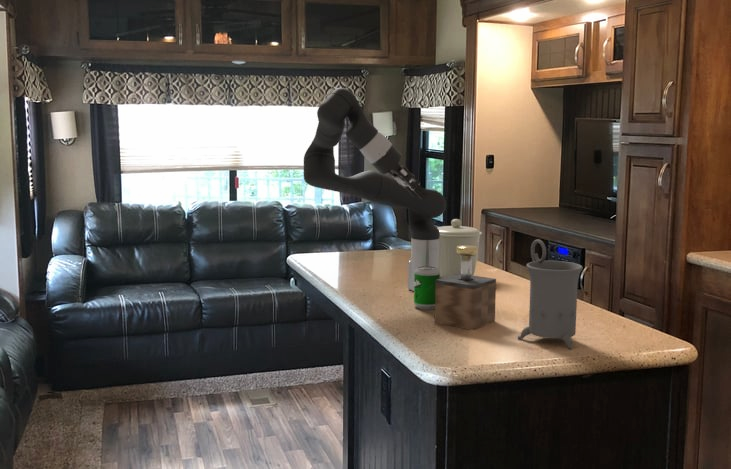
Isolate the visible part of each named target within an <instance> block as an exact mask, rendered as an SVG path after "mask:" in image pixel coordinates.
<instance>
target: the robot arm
mask: <svg viewBox="0 0 731 469" xmlns="http://www.w3.org/2000/svg"><path fill="white" fill-rule="evenodd" d="M316 114H317V115H316V116H317V119H318V120H317V121H318V124H317V127H316V132H315V134H314V138H313V140H312V141H311V143H310V145H309V146H308V148H307V149H306V151H305V153H304V156H303V180H304V182H305V183H306V184H307V185H309V186H311V187H314V188H318V189H322V190H328V191H332V192H337V193H343V194H346V195H350V196H354V197H357V198H359V199H363V200H366V201H368V202H372V203H376V204H379V205H385V206H390V207H396V208H404V209H407V210H408V228H409V231H410V234H411V235H410V236H411V238H410V242H411V244H410V247H411V249H410V251H411V252H410V260H408V266H407V268H408V269H407V272H408V273H407V275H408V276H407V290H411V291H412V292H414V271H415V270H416V269H417V267H420V266H433V267H437V269H438V270H439V242H440V232H439V230H438V228H437V226H436V225H435V224H434V223H433V219H435V218H439V217H440V216H441V215H442V214H444V213H445V211H446V208H447V201H446V198H445V197H444V195H443V194H442V193H441V192H440V191H438V190H436V189H431V188H428V189H427V188H423V186H422V185H421V181H420V180H419V179H418V178H416V177H415V175H414V174H413V173H411V171H410V170H409V169H408V167H406V166H405V165H401V164H400V161H401V160H402V158H403V154H402V153H401V152H400V151H399V150H398V149H397V148H396V147H395V145H394V144H393V143H392V142H391V141H390V140H389V139H388V138H387V137H386V136H385V135H384V134H382V133H381V132H380V131H379V130H378V129H377V128H376V127H375V126H374V125H373V124H372V123H371V121H370V120H369V119H368V118H367V116H366V114H365V112H364V110H363V109H362V107H361V105H360V103H359V101H358V99H357V97H356V96H355V94H353V92H352V91H350V90H349V89H347V88H344V87H337V88H335V89H334V90H333V91H332V92H330V94H329V95H328V96H327V97H326V98H325V99H324V100H323V101H322V103H321V104H320V105H319V107H318V108H317V111H316ZM347 117H348V122H349V124H348V128H347V129H346V132H345V135H346V137H347V139H348V140H349V142H351V143H352V144H353V146H355V147H356V148H357V150H359V152H361V155H363V157H364V158H365V160H367V161H368V162H369V163H370V164H371V165H372V166H373V167H374V168H375V170H364V171H363V172H359V173H357V174H354V175H352V176H342V175H339V174H337V173H336V160H335V153H334V152H335V151H334V148H335V147H336V146H337V145H338V144H339V143H340V141H341V140H342V137H343V133H344V130H345V128H346V127H345V126H346V121H345V119H346V118H347ZM388 173H389V174H390V175H387V174H388Z"/></svg>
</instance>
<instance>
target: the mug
mask: <svg viewBox="0 0 731 469" xmlns="http://www.w3.org/2000/svg"><path fill="white" fill-rule="evenodd" d="M537 244H540V245H539V246H540V247H541V250H542V255H541V258H540V257H539V254H538V253H537V252H536V250H535V249H536V246H537ZM535 252H536V253H535ZM530 256H531V259H532V261H531V262H528V263H526V268H527V270H528V272H529V273H528V274H529V281H530V282H529V283H530V284H529V286H530V287H529V288H530V289H529V317H528V318H529V319H528V326H526V327H524V328H523V329H522V330H521V333H520V336H519V335H518V336H517V339H518V340H523V339H524V338H525V337H527V336H528V335H533V336H536V337H540V338H546V339H547V338H548V339H562V341H563V342H564V343H565V345H566V346H567V348H568V349H569V350H573V348H574V347H573V346H572V337H574V336H576V330H577V329H576V328H577V305H578V304H577V302H578V284H579V278H580V274H581V272H582V270H583V268H584V267H583V265H581V264H579V263H576V262H572V261H570V262H569V261H563V260H562V261H561V260H546V257H547V247H546V244H545V243H544V241H543V240H541V239H538V238H537V239H535V240H533V242H531V246H530Z"/></svg>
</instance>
